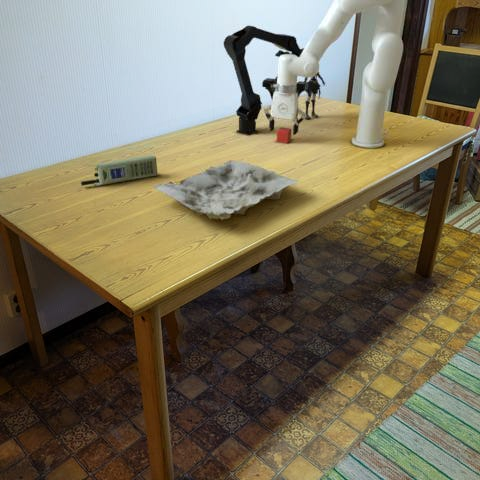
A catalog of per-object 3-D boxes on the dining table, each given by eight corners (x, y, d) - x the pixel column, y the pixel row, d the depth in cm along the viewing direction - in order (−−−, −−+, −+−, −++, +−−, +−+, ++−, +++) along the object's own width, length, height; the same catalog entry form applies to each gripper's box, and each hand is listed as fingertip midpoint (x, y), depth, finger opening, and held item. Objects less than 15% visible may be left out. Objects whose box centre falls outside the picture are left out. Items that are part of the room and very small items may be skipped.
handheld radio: (158, 176, 170) (83, 189, 160) (155, 173, 172) (80, 186, 162) (156, 157, 167) (79, 169, 157) (153, 154, 169) (77, 166, 159)
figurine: (304, 121, 228) (309, 51, 213) (294, 118, 232) (298, 49, 217) (325, 115, 237) (331, 47, 222) (315, 113, 240) (320, 46, 226)
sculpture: (145, 207, 151) (219, 236, 133) (144, 188, 148) (218, 215, 130) (230, 174, 176) (301, 195, 158) (230, 157, 173) (302, 177, 155)
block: (280, 138, 207) (281, 127, 205) (291, 139, 206) (291, 128, 203) (276, 141, 203) (277, 130, 201) (287, 143, 202) (287, 132, 199)
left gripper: (258, 68, 207) (257, 107, 215) (302, 72, 201) (299, 112, 209) (267, 64, 216) (266, 101, 224) (309, 68, 210) (306, 105, 217)
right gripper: (262, 88, 194) (259, 131, 202) (305, 93, 188) (301, 137, 197) (268, 84, 200) (266, 126, 208) (310, 89, 194) (306, 132, 203)
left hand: (283, 105), depth 218 cm, fingers open, 9 cm apart
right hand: (283, 132), depth 203 cm, fingers open, 9 cm apart
